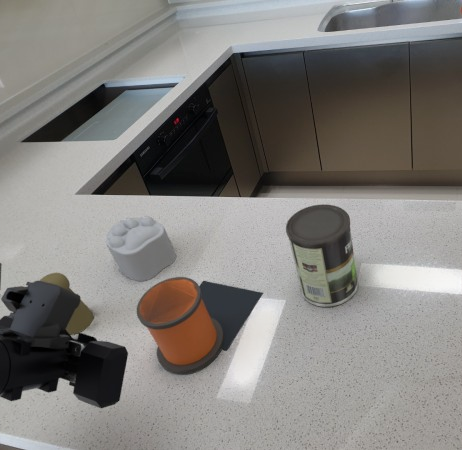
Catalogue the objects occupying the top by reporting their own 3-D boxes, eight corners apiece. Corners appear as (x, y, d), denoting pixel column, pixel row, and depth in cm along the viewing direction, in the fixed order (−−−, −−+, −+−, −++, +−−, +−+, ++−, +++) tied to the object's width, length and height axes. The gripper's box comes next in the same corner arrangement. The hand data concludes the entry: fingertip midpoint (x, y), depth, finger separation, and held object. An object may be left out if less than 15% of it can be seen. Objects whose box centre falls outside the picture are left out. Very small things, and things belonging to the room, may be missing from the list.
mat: (226, 350, 74) (226, 350, 74) (162, 333, 79) (162, 333, 79) (262, 293, 83) (262, 292, 82) (203, 281, 88) (203, 280, 88)
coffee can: (355, 262, 85) (347, 200, 76) (360, 304, 77) (352, 239, 68) (300, 268, 86) (286, 208, 77) (300, 310, 78) (284, 247, 69)
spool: (179, 387, 70) (152, 342, 63) (147, 348, 77) (120, 304, 70) (237, 342, 74) (218, 296, 68) (202, 309, 82) (181, 264, 75)
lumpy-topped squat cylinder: (141, 286, 90) (123, 252, 85) (108, 263, 98) (90, 231, 92) (182, 255, 95) (168, 222, 90) (148, 235, 103) (133, 204, 98)
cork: (63, 315, 87) (33, 273, 80) (95, 305, 87) (68, 263, 81) (57, 339, 82) (25, 296, 75) (91, 329, 83) (62, 286, 76)
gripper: (73, 304, 42) (180, 300, 56) (-49, 272, 50) (73, 275, 64) (49, 427, 41) (164, 391, 56) (-70, 375, 49) (57, 356, 63)
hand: (112, 348), depth 60 cm, fingers closed
